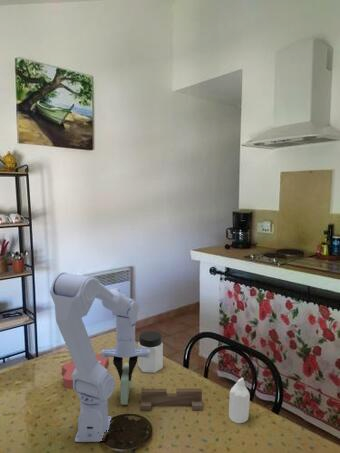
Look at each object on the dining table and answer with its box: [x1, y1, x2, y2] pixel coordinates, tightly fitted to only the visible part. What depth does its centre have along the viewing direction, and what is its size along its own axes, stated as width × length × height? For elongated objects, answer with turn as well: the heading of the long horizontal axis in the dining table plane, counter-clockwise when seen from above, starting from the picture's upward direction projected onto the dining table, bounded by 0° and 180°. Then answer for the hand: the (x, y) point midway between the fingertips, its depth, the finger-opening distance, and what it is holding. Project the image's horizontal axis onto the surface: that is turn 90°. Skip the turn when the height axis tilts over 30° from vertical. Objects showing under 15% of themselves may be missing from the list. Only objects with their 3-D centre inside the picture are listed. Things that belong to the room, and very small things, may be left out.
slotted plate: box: [120, 362, 132, 405], centre depth 105 cm, size 10×2×8 cm, turn 1°
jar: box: [137, 330, 164, 374], centre depth 123 cm, size 9×8×12 cm
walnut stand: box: [140, 388, 204, 412], centre depth 102 cm, size 6×18×4 cm, turn 91°
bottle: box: [228, 377, 251, 424], centre depth 96 cm, size 6×12×6 cm
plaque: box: [61, 353, 109, 389], centre depth 119 cm, size 18×4×15 cm
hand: (125, 379), depth 105 cm, fingers closed on slotted plate, 2 cm apart
